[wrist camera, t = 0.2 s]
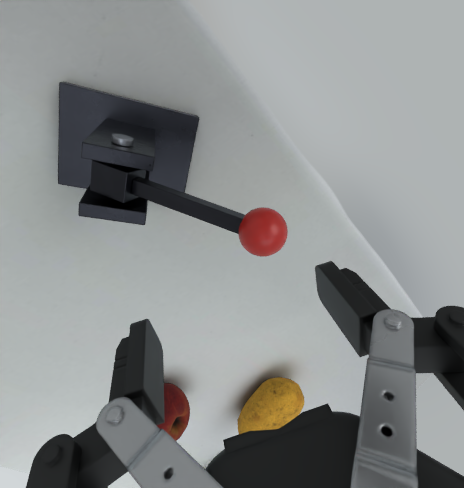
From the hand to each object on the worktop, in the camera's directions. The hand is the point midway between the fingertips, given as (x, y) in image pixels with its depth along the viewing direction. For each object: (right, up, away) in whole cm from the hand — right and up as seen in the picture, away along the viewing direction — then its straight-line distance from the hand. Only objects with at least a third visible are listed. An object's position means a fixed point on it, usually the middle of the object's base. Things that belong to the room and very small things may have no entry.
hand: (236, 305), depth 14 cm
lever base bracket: (-10, +12, +16) cm, 23 cm away
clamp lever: (-3, +6, +8) cm, 11 cm away
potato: (+5, -23, +40) cm, 47 cm away
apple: (-11, -20, +35) cm, 41 cm away
